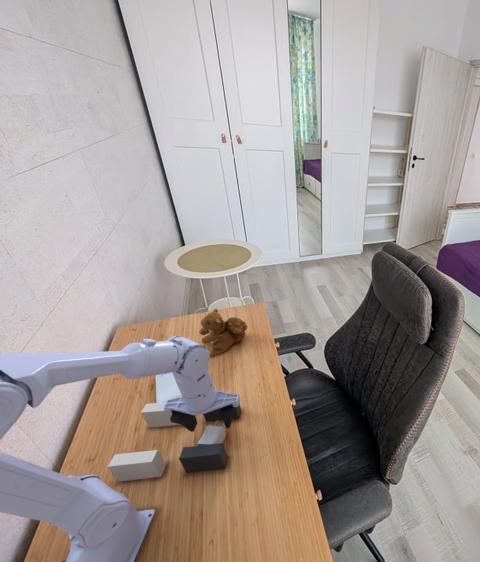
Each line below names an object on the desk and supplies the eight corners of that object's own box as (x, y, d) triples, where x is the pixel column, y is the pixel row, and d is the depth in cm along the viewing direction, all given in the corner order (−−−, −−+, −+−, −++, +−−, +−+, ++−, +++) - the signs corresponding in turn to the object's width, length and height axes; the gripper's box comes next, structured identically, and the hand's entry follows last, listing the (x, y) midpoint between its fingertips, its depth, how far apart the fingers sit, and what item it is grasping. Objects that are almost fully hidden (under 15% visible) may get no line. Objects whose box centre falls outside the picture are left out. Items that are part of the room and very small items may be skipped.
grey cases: (225, 468, 63) (219, 454, 60) (186, 473, 61) (178, 458, 58) (241, 410, 75) (237, 396, 72) (209, 413, 74) (203, 398, 71)
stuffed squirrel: (203, 339, 97) (193, 308, 90) (247, 328, 103) (241, 298, 97) (204, 358, 90) (193, 326, 83) (251, 345, 96) (245, 314, 89)
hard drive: (154, 375, 81) (156, 408, 72) (187, 364, 85) (192, 393, 77) (156, 379, 82) (158, 412, 73) (189, 368, 86) (194, 397, 77)
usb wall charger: (200, 453, 65) (196, 443, 63) (215, 425, 71) (212, 415, 69) (217, 454, 65) (213, 444, 63) (231, 426, 71) (228, 416, 69)
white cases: (161, 476, 61) (151, 461, 58) (119, 481, 59) (107, 466, 56) (188, 415, 73) (182, 400, 70) (154, 418, 72) (146, 403, 69)
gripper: (238, 369, 63) (248, 407, 70) (167, 374, 61) (185, 413, 68) (229, 396, 57) (241, 435, 64) (150, 402, 55) (171, 442, 62)
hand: (212, 425), depth 66 cm, fingers open, 7 cm apart
